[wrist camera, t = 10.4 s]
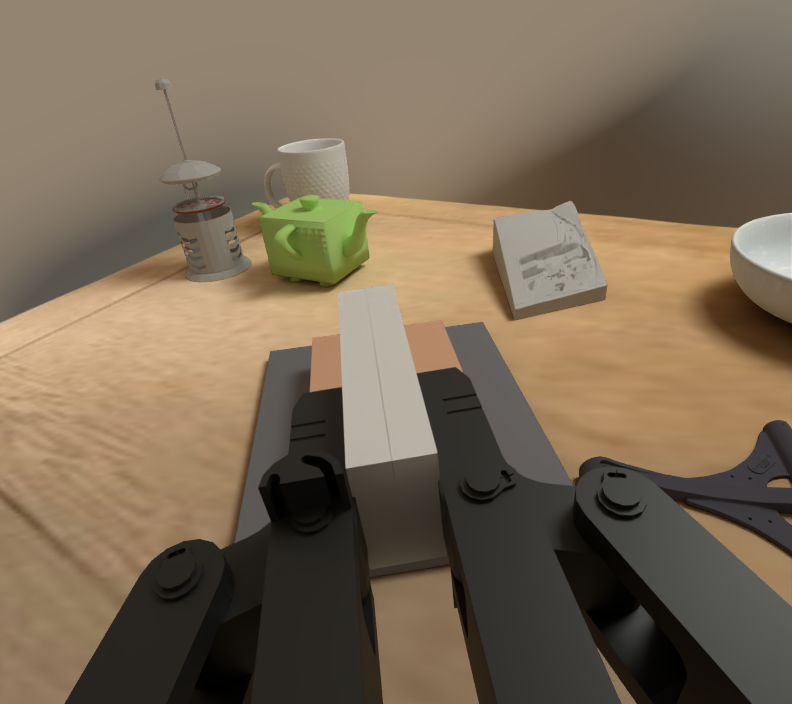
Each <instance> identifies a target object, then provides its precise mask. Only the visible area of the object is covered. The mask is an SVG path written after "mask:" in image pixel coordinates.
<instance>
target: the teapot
mask: <svg viewBox="0 0 792 704" xmlns="http://www.w3.org/2000/svg"><path fill="white" fill-rule="evenodd" d="M252 205H253V206H255V207H256V208H257V209H259V211H260V212H261V213H262V216H260V217H259V222H260V226H261V230H262V235H263V239H264V243H265V247H266V251H267V255H268V259H269V263H270V267H271V271H272V275H278V276H285V277H291V278H290V281H292V282H298V281H301V280H303V279H305V280H311V281H318V282H320V285H321V286H324V287H326V286H331V285H333V284H335V283H337V282H338V281H339V280H341V279H342V278H343V277H345V276H346V275H347V274H349V273H350V272H352V271H353V270H354V269H356V268H357V267H358V266H360V265H361V264H362V263H364V262H365V261H366V260H368V259H369V250H368V242H367V234H366V225H367V221H368V219H369V218H370V217H371V216H372V215H374V214H375V213H377V212H378V211H376V210H366V211H363V203H362V201H351V200H334V199H319V196H317V195H307V196H303V197H301V198H298V199H296V200H294V201H292V202H290V203H287V204H285V205H283V206H281V207H279V208H277V209H275V210H273V211H272V209H271V208H270V207H269V206H268V205H266V204H265V203H260V202H259V203H258V202H256V203H252Z"/></svg>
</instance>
